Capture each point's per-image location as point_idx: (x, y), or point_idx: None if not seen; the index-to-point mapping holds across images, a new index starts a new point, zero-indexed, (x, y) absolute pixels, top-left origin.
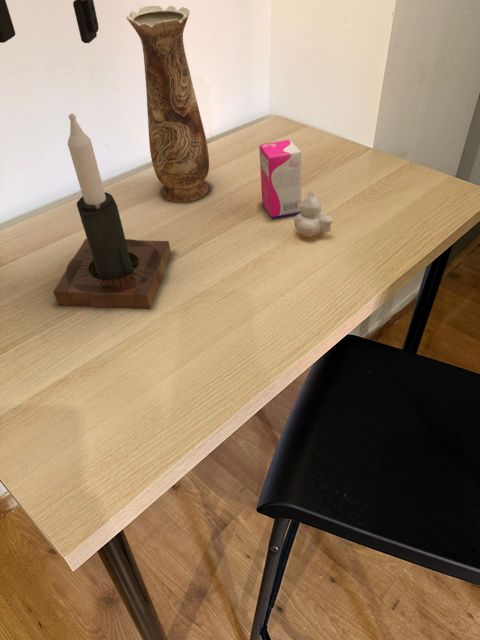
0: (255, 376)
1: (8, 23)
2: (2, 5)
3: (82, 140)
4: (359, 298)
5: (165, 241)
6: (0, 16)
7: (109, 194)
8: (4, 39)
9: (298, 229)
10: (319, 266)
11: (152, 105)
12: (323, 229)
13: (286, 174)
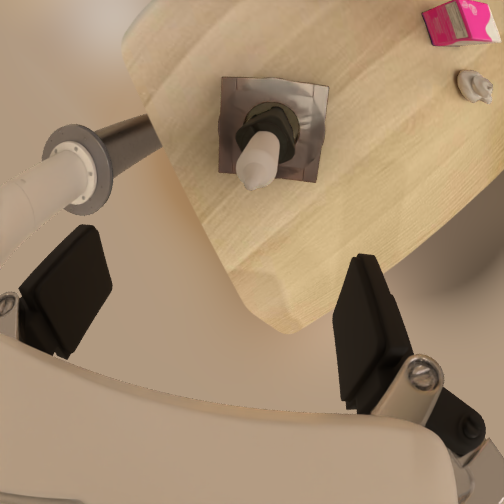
0: (391, 257)
1: (84, 268)
2: (59, 304)
3: (267, 183)
4: (476, 189)
5: (325, 87)
6: (81, 310)
7: (282, 132)
8: (111, 289)
9: (460, 89)
10: (464, 139)
11: None
12: (480, 100)
13: (474, 42)
